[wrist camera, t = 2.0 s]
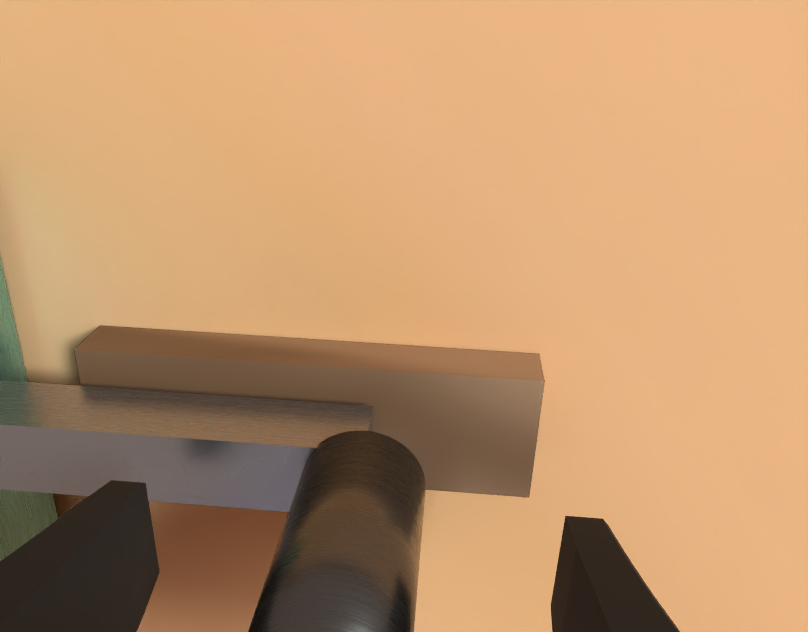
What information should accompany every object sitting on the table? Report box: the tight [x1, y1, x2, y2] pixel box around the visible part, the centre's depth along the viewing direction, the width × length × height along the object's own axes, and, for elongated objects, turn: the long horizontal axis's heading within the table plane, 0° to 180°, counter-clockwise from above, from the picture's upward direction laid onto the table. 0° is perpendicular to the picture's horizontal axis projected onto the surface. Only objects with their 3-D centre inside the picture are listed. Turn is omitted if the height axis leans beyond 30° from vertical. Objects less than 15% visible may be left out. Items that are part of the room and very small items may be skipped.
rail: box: [74, 326, 545, 497], centre depth 16 cm, size 3×10×1 cm, turn 88°
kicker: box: [0, 259, 425, 632], centre depth 13 cm, size 11×11×8 cm
